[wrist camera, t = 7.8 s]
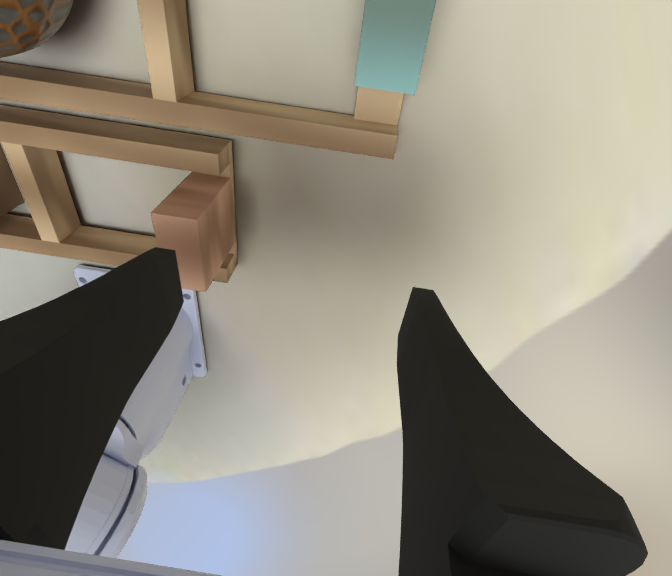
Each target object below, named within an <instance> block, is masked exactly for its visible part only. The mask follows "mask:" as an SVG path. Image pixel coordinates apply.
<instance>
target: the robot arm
mask: <svg viewBox="0 0 672 576" xmlns="http://www.w3.org/2000/svg"><path fill="white" fill-rule="evenodd" d="M74 275H75V277H76V280H77V283H78V285H79V287H78V288H76V289H74V290H72V291H70V292H68V293H66V294H64V295H62V296H60V297H58V298H56V299H54V300H52V301H50V302H47V303H45V304H43V305H40V306H38V307H36V308H33V309H31V310H28V311H26V312H23V313H21V314H18V315H16V316H13V317H11V318H8V319H5V320H2V321H0V576H221V575H215V574H209V573H202V572H196V571H190V570H184V569H178V568H172V567H166V566H159V565H153V564H147V563H140V562H134V561H128V560H122V559H116V558H117V556H118V555H119V553H120V552H121V550H122V549H123V547H124V546H125V544H126V542H127V541H128V539H129V537H130V536H131V534H132V532H133V530H134V528H135V526H136V524H137V522H138V519H139V517H140V515H141V512H142V510H143V507H144V503H145V500H146V495H147V473H146V470H145V469H144V468H143V467H142V466H140V465H138V463H139V461H140V460H141V459H142V458H144V457H145V456H146V455H148V454H149V453H150V452H151V451H152V450H153V449H154V448H155V447H156V446H157V445H158V443H159V442H160V440H161V439H162V437H163V435H164V433H165V431H166V429H167V427H168V425H169V423H170V421H171V419H172V417H173V415H174V413H175V411H176V409H177V407H178V405H179V403H180V400H181V398H182V396H183V394H184V392H185V390H186V388H187V386H188V384H189V382H190V380H191V378H192V376H196V377H204V376H205V375H206V373H207V368H206V360H205V353H204V346H203V339H202V332H201V325H200V318H199V311H198V303H197V296H196V291H194V290H188V289H182V287H181V281H180V275H179V269H178V263H177V257H176V252H175V250H171V249H165V248H158V247H154V248H152V249H150V250H148V251H146V252H144V253H142V254H140V255H139V256H137V257H135V258H133V259H131V260H129V261H128V262H126V263H124V264H122V265H120V266H118V267H117V268H115V269H113V270H109V269H103V268H96V267H90V266H84V265H79V266H77V267H76V268H75V269H74ZM187 294H189V295H190V296H188V295H187ZM397 372H398V384H399V396H400V407H401V419H402V430H403V484H402V485H403V486H402V517H401V540H400V559H399V576H626V575H627V574H629V573H631V572H633V571H635V570H636V569H637V568H639V567H640V566H641V565H642V564H643V562H644V561H645V559H646V557H647V554H648V552H647V549H646V546H645V543H644V541H643V539H642V537H641V534H640V532H639V530H638V528H637V525H636V523H635V521H634V519H633V517H632V515H631V512H630V511H629V508H628V507H627V504H626V503H625V501H624V499H623V497H622V496H620V495H619V494H618V493H616V492H615V491H614V490H612V489H611V488H610V487H609V486H607V485H606V484H605V483H603V482H602V481H601V480H600V479H598V478H597V477H596V476H594V475H593V474H592V473H591V472H589V471H588V470H587V469H585V468H584V467H583V466H581V465H580V464H579V463H578V462H577V461H575V460H574V459H573V458H572V457H571V456H569V455H568V454H567V453H566V452H565V451H564V450H563V449H561V448H560V447H559V446H558V445H557V444H556V443H554V442H553V441H552V440H551V439H550V438H549V437H548V436H547V435H545V434H544V433H543V432H542V431H541V430H540V429H539V428H538V427H537V426H536V425H535V424H534V423H533V422H532V421H531V420H530V419H529V418H528V417H527V416H526V415H525V414H524V413H523V412H521V411H520V409H519V408H518V407H517V406H516V405H515V404H514V403H513V402H512V401H511V400H510V399H509V398H508V397H507V395H506V394H505V393H504V392H503V391H502V390H501V389H500V388H499V386H498V385H497V384H496V383H495V382H494V381H493V380H492V378H491V377H490V376H489V375H488V373H487V372H486V371H485V370H484V368H483V367H482V366H481V364H480V363H479V362H478V360H477V359H476V357H475V356H474V355H473V353H472V352H471V350H470V349H469V348H468V346H467V345H466V343H465V342H464V340H463V338H462V337H461V335H460V334H459V332H458V331H457V329H456V328H455V326H454V324H453V323H452V321H451V319H450V318H449V316H448V314H447V313H446V311H445V309H444V308H443V306H442V304H441V302H440V301H439V299H438V297H437V295H436V294H435V292H434V291H433V290H428V289H422V288H415V287H413V289H412V292H411V295H410V298H409V302H408V305H407V308H406V311H405V315H404V318H403V321H402V324H401V328H400V331H399V334H398V349H397Z"/></svg>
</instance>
